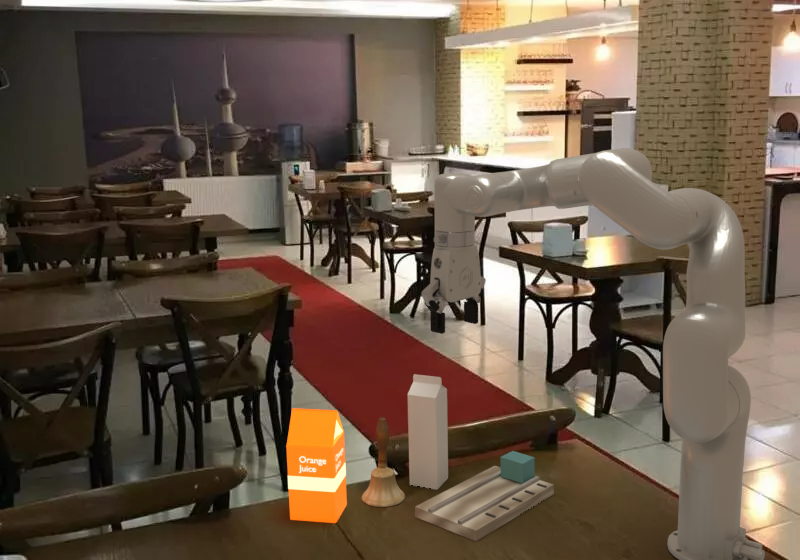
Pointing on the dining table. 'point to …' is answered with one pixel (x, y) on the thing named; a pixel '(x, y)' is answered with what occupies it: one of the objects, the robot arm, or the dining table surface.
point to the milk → (427, 432)
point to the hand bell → (382, 475)
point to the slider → (517, 467)
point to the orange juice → (316, 465)
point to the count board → (483, 503)
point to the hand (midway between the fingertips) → (454, 327)
